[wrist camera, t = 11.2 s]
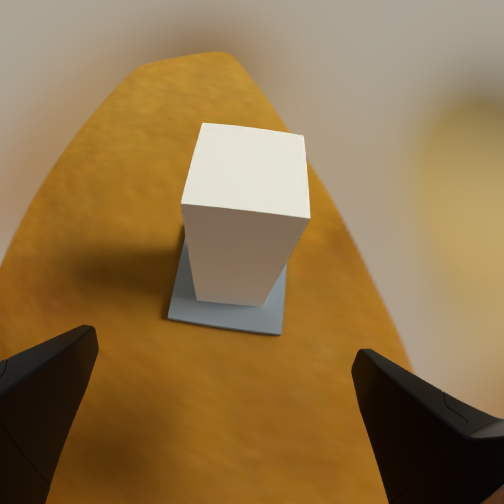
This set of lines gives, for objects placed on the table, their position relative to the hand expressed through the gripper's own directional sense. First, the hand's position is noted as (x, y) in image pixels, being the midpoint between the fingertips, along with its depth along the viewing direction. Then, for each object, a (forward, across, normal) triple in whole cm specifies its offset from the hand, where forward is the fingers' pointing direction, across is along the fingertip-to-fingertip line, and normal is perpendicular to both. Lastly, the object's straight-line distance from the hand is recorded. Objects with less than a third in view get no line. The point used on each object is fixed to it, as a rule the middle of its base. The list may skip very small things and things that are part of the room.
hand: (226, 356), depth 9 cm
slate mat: (+10, 0, +2) cm, 10 cm away
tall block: (+10, 0, +1) cm, 10 cm away
